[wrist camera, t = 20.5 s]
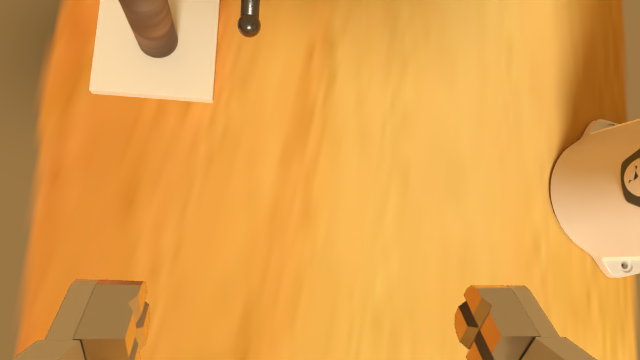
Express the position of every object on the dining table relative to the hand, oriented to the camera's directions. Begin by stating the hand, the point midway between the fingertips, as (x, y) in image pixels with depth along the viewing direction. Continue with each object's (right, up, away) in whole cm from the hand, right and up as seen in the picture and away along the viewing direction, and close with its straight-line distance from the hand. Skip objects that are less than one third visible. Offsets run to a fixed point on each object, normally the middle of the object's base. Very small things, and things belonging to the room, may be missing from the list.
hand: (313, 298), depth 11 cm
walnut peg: (-17, +18, +35) cm, 42 cm away
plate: (-17, +17, +36) cm, 43 cm away
